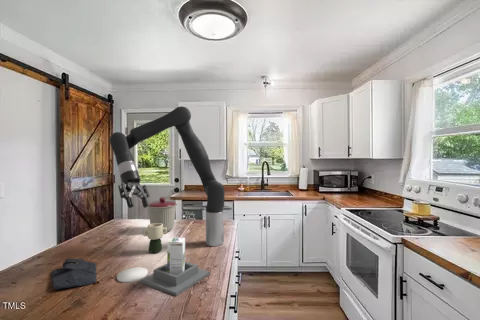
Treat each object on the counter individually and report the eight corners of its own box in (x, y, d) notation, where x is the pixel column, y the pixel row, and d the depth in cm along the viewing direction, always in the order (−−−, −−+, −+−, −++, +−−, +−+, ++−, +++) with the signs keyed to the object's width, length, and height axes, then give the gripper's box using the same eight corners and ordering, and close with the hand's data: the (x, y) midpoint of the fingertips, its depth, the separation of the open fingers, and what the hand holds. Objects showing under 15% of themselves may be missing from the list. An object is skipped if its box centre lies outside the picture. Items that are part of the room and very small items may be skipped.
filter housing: (176, 264, 106) (176, 255, 106) (210, 274, 97) (210, 264, 97) (140, 282, 91) (140, 271, 91) (176, 295, 82) (176, 283, 82)
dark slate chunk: (44, 297, 82) (44, 282, 82) (52, 271, 101) (52, 260, 101) (98, 284, 90) (98, 271, 90) (96, 263, 109) (96, 252, 109)
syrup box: (169, 275, 97) (169, 237, 97) (185, 274, 97) (185, 237, 97) (166, 282, 91) (166, 242, 91) (183, 281, 91) (183, 241, 91)
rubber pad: (135, 267, 104) (135, 265, 104) (154, 273, 98) (154, 271, 98) (110, 278, 94) (110, 275, 94) (129, 285, 89) (129, 283, 89)
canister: (155, 226, 168) (155, 195, 168) (181, 227, 165) (181, 195, 165) (141, 234, 150) (141, 199, 150) (170, 235, 147) (170, 200, 147)
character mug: (166, 247, 127) (166, 222, 127) (167, 252, 120) (167, 225, 120) (143, 250, 123) (143, 224, 123) (143, 255, 116) (143, 227, 116)
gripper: (122, 167, 103) (133, 203, 98) (146, 171, 116) (157, 203, 111) (109, 175, 105) (119, 211, 100) (134, 178, 118) (144, 210, 113)
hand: (139, 207), depth 106 cm, fingers open, 8 cm apart
